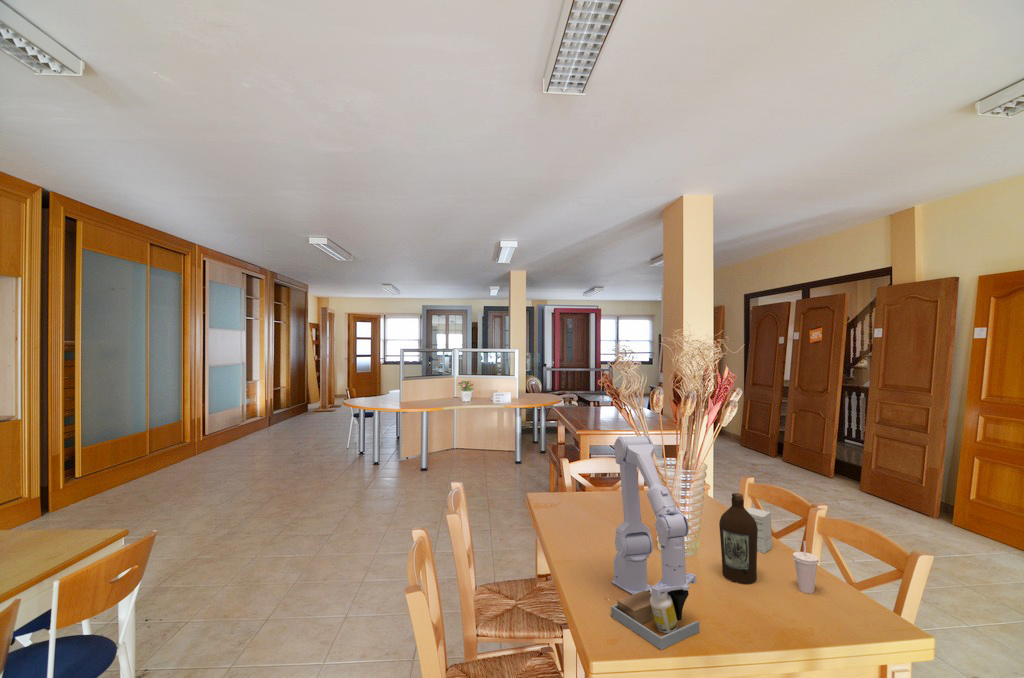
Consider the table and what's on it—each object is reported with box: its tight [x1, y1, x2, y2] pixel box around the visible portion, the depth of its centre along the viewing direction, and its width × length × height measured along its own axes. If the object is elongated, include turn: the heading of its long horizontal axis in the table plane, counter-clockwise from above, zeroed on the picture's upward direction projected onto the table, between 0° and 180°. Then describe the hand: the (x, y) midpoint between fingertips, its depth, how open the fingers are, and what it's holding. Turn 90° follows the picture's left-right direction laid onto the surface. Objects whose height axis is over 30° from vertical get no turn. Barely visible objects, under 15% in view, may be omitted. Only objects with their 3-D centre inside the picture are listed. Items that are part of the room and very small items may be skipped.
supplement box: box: [746, 507, 773, 554], centre depth 165 cm, size 7×7×13 cm
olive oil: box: [718, 492, 758, 585], centre depth 144 cm, size 11×11×25 cm
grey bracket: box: [610, 604, 700, 651], centre depth 118 cm, size 16×14×2 cm
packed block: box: [617, 590, 654, 625], centre depth 122 cm, size 6×10×4 cm, turn 121°
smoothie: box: [792, 540, 820, 594], centre depth 135 cm, size 6×6×14 cm
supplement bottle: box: [649, 584, 679, 634], centre depth 116 cm, size 5×5×10 cm
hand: (676, 619), depth 117 cm, fingers closed, pressing on supplement bottle
